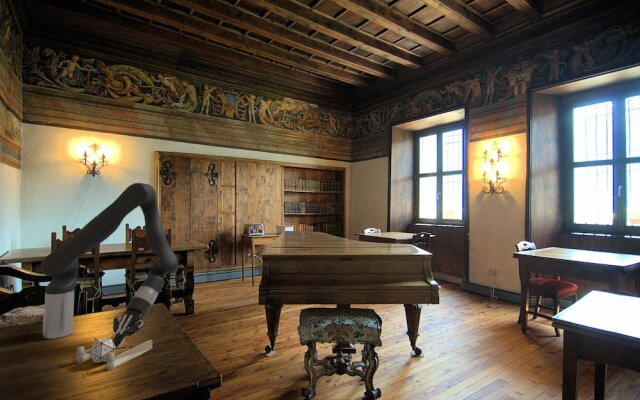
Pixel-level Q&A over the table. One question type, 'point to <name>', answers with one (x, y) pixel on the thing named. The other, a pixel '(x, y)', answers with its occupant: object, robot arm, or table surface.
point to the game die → (101, 350)
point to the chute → (116, 360)
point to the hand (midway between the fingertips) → (113, 346)
